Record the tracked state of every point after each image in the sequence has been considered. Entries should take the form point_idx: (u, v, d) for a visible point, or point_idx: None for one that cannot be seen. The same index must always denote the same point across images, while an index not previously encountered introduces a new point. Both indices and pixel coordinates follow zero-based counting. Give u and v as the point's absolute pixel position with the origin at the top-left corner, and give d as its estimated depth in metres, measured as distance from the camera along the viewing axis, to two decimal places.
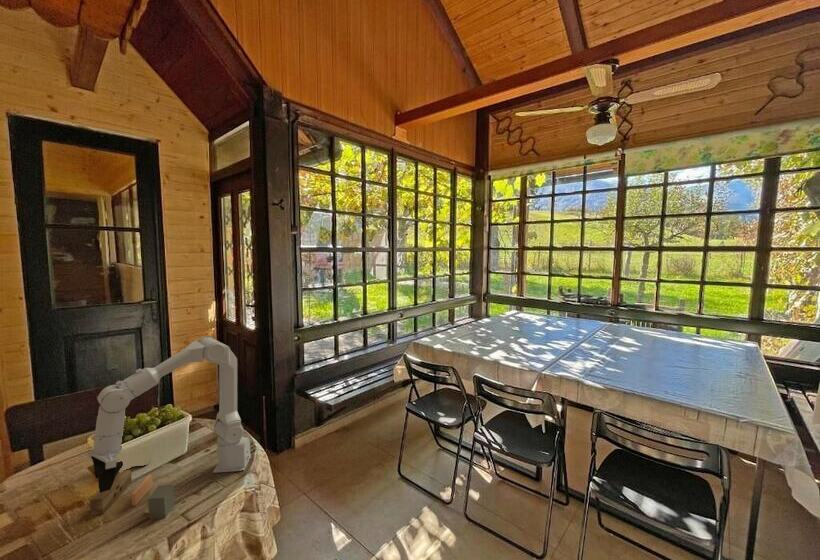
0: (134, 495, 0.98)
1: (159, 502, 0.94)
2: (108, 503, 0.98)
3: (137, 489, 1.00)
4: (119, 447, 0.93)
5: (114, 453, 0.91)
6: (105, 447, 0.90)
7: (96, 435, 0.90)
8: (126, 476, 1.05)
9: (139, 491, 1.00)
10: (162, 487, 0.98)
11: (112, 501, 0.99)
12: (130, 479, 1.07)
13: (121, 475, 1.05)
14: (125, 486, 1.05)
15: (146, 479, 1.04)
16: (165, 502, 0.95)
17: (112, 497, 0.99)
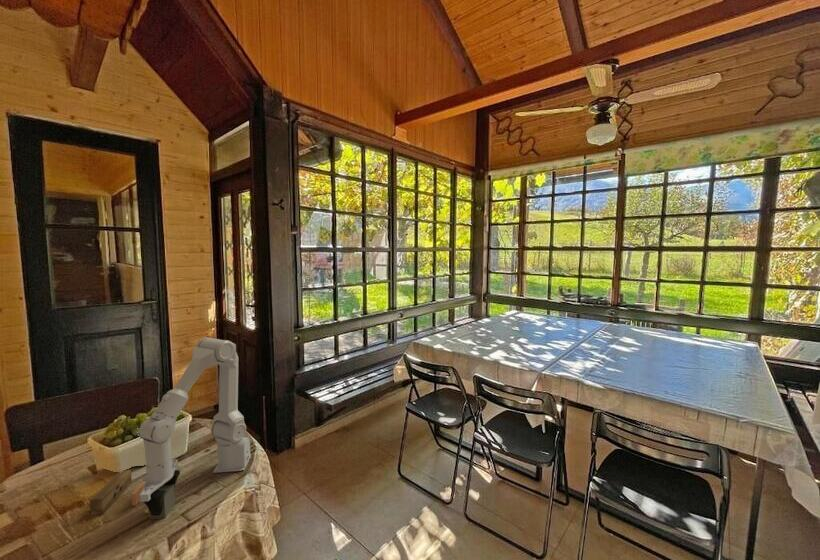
0: (134, 495, 0.98)
1: None
2: (108, 503, 0.98)
3: (137, 489, 1.00)
4: (165, 477, 0.94)
5: (158, 483, 0.93)
6: (150, 476, 0.93)
7: None
8: (126, 476, 1.05)
9: (139, 491, 1.00)
10: (162, 487, 0.98)
11: (112, 501, 0.99)
12: (130, 479, 1.07)
13: (121, 475, 1.05)
14: (125, 486, 1.05)
15: None
16: (165, 501, 0.95)
17: (112, 497, 0.99)
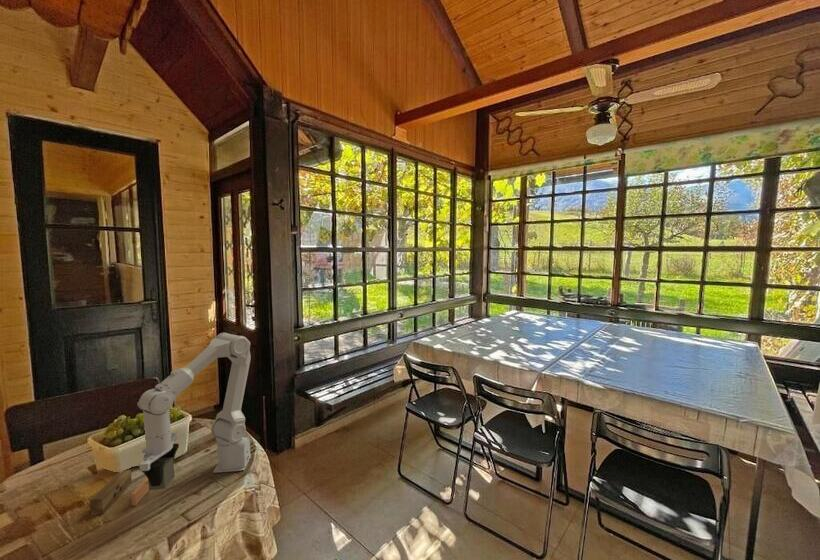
0: (134, 495, 0.98)
1: None
2: (108, 503, 0.98)
3: (137, 489, 1.00)
4: (164, 449, 0.95)
5: (157, 454, 0.94)
6: (149, 447, 0.94)
7: None
8: (126, 476, 1.05)
9: (139, 491, 1.00)
10: (161, 459, 0.99)
11: (112, 501, 0.99)
12: (130, 479, 1.07)
13: (121, 475, 1.05)
14: (125, 486, 1.05)
15: (146, 479, 1.04)
16: (165, 473, 0.96)
17: (112, 497, 0.99)
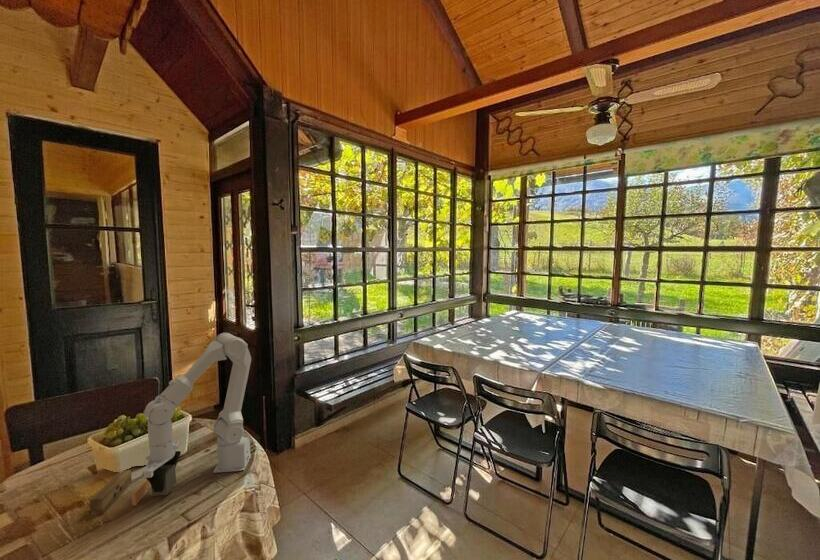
0: (134, 495, 0.98)
1: None
2: (108, 503, 0.98)
3: (137, 489, 1.00)
4: (167, 456, 1.00)
5: (160, 462, 0.99)
6: (153, 455, 0.99)
7: None
8: (126, 476, 1.05)
9: (139, 491, 1.00)
10: (164, 466, 1.04)
11: (112, 501, 0.99)
12: (130, 479, 1.07)
13: (121, 475, 1.05)
14: (125, 486, 1.05)
15: (146, 479, 1.04)
16: (167, 479, 1.01)
17: (112, 497, 0.99)
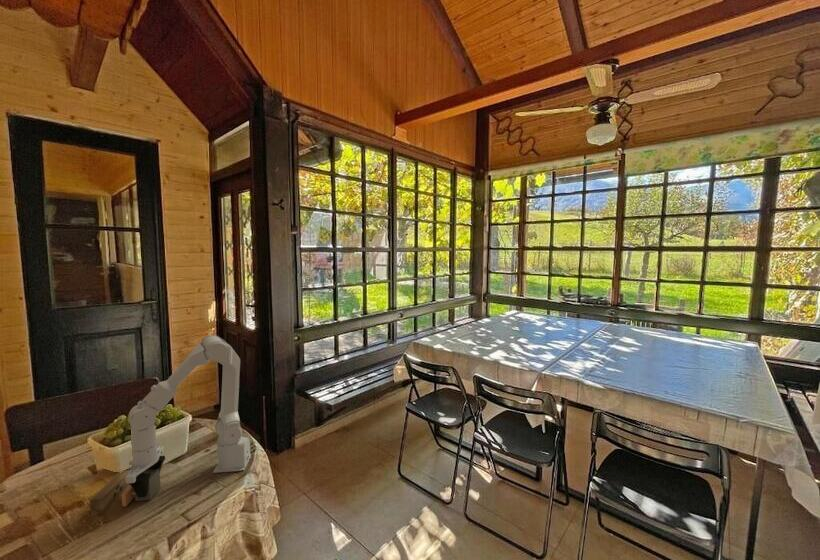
0: (125, 496, 0.98)
1: None
2: (108, 503, 0.98)
3: (127, 490, 1.00)
4: (150, 461, 1.00)
5: (143, 467, 0.99)
6: (136, 460, 0.98)
7: None
8: None
9: (129, 492, 1.00)
10: (148, 471, 1.04)
11: (112, 501, 0.99)
12: None
13: (121, 475, 1.05)
14: (125, 486, 1.05)
15: None
16: (150, 484, 1.01)
17: (112, 497, 0.99)
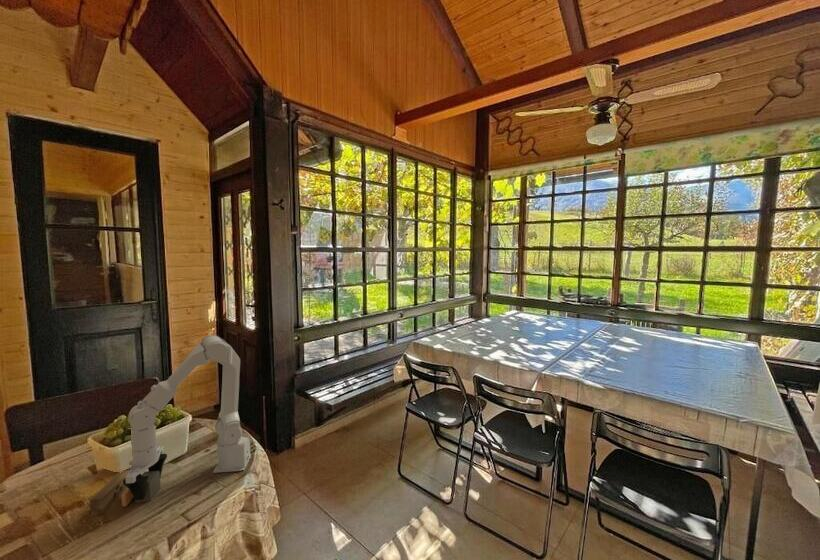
0: (124, 496, 0.98)
1: None
2: (108, 503, 0.98)
3: (127, 490, 1.00)
4: (150, 461, 1.00)
5: (143, 467, 0.99)
6: (136, 460, 0.98)
7: None
8: None
9: (129, 492, 1.00)
10: (148, 473, 1.04)
11: (112, 501, 0.99)
12: None
13: (121, 475, 1.05)
14: (125, 486, 1.05)
15: None
16: (150, 486, 1.01)
17: (112, 497, 0.99)
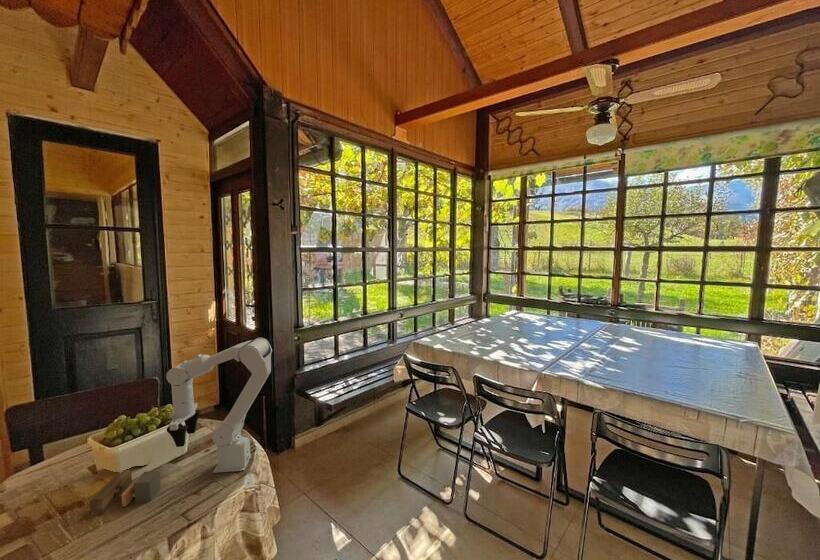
0: (124, 496, 0.98)
1: (144, 486, 1.00)
2: (108, 503, 0.98)
3: (127, 490, 1.00)
4: (189, 413, 1.13)
5: (183, 418, 1.12)
6: (176, 412, 1.12)
7: None
8: (126, 476, 1.05)
9: (129, 492, 1.00)
10: (148, 473, 1.04)
11: (112, 501, 0.99)
12: (130, 479, 1.07)
13: (121, 475, 1.05)
14: (125, 486, 1.05)
15: None
16: (151, 486, 1.01)
17: (112, 497, 0.99)
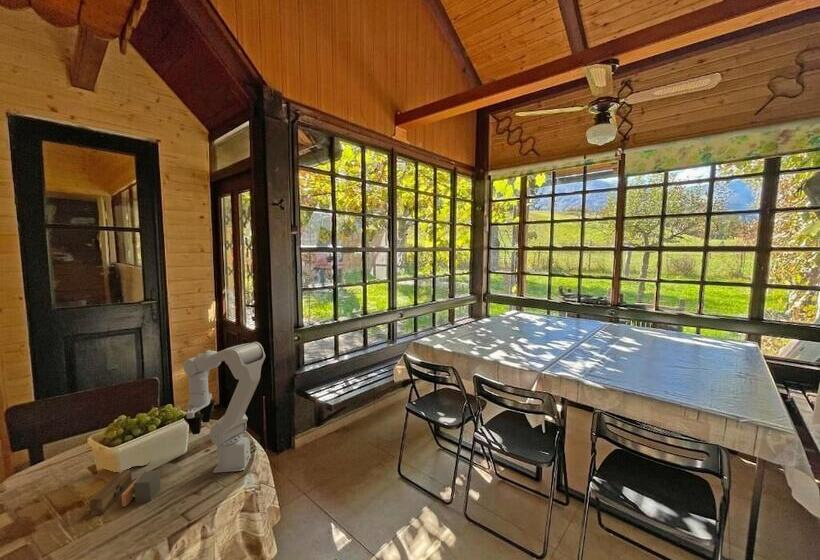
0: (124, 496, 0.98)
1: (144, 486, 1.00)
2: (108, 503, 0.98)
3: (127, 490, 1.00)
4: (204, 403, 1.20)
5: (199, 407, 1.18)
6: (193, 401, 1.18)
7: (189, 391, 1.19)
8: (126, 476, 1.05)
9: (129, 492, 1.00)
10: (148, 473, 1.04)
11: (112, 501, 0.99)
12: (130, 479, 1.07)
13: (121, 475, 1.05)
14: (125, 486, 1.05)
15: None
16: (151, 486, 1.01)
17: (112, 497, 0.99)
